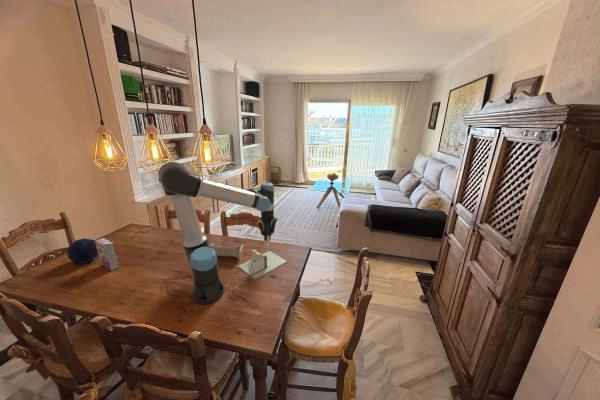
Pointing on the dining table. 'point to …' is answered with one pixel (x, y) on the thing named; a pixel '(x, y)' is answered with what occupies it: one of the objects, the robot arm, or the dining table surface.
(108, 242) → the candy bar box
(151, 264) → the dining table surface
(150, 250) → the dining table surface
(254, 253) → the fence hinged panel
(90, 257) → the decorative orb
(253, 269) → the fence fixed panel
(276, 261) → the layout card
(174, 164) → the robot arm
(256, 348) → the dining table surface
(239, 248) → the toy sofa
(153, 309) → the dining table surface
